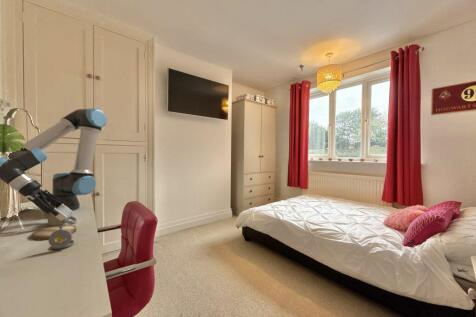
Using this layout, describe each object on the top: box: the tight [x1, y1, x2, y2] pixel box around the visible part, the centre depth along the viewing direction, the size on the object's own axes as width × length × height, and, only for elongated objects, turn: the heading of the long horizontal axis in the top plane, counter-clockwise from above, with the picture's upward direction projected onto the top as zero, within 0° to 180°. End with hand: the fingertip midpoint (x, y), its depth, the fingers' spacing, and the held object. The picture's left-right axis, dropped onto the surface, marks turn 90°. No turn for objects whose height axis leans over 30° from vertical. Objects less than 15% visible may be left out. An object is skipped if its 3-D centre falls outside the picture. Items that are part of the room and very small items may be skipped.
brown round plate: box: [30, 224, 78, 241], centre depth 89 cm, size 15×15×1 cm
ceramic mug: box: [47, 207, 78, 227], centre depth 101 cm, size 11×8×8 cm
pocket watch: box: [48, 223, 75, 250], centre depth 76 cm, size 8×8×10 cm
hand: (67, 216), depth 101 cm, fingers closed on ceramic mug, 8 cm apart
